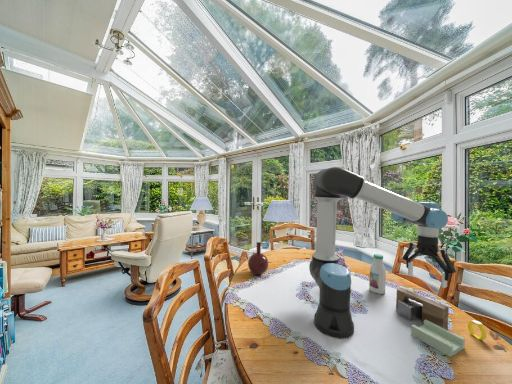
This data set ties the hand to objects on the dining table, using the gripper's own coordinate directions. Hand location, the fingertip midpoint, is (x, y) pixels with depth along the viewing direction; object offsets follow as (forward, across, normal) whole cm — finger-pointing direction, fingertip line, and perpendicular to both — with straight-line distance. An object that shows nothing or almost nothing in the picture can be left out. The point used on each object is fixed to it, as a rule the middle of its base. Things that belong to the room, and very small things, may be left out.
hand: (426, 281), depth 98 cm
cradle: (+14, -13, +19) cm, 27 cm away
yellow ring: (+14, -18, +2) cm, 23 cm away
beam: (+14, -2, +8) cm, 16 cm away
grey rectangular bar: (+14, 0, +6) cm, 15 cm away
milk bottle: (+14, +22, +2) cm, 26 cm away
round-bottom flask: (+14, +68, +53) cm, 88 cm away
